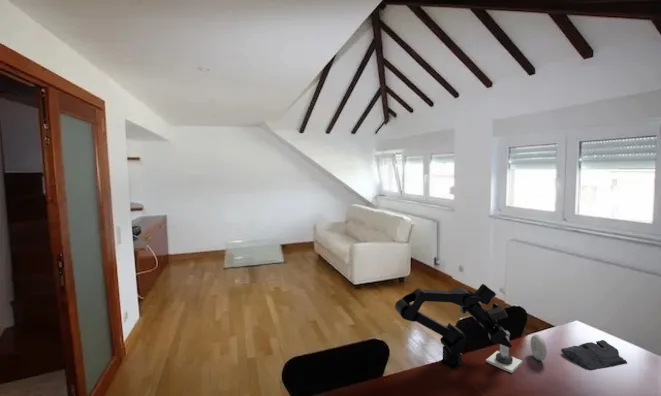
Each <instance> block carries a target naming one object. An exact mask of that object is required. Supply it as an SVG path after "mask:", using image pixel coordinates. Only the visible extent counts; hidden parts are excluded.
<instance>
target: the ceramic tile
mask: <svg viewBox="0 0 661 396" xmlns="http://www.w3.org/2000/svg"><path fill="white" fill-rule="evenodd" d="M497 353H500V350H496V351H495V352H494V353H493V354H491V355H490V356H489V357H488V358H486V359H485V362H486V363H488V364H489V365H492V366H495V367H496V368H499V369H501V370H504V371H506V372H508V373H510V374H513V372H515V371H516V370H517V369H518V368H519V367H520V366H521V365H522V364H523V360H521V359H518V358H517V357H515V356H511V355H510V356H511V357H512V358H513V362H512V364H509V365H506V364H502V363H500V362H498V361H497V360H496V354H497Z"/></svg>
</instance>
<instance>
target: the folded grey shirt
mask: <svg viewBox="0 0 661 396" xmlns="http://www.w3.org/2000/svg"><path fill="white" fill-rule="evenodd" d="M560 352H561V353H562V354H564V355H565V356H566V357H567V358H569V359H571V360H572V361H574V362H575V363H576V364H578V365H579V366H581V368H584V369H585V370H586V369H587V370H589V371H595V370H600V369H606V368H611V367H616V366H620V365H627V364H628V361H627V360H626V359H624V357H621V356H620V354H619V349H617V347H615V346H614V345H611V344H609V343H608V341H606V340H604V339H601V340H598V341H595V343H594V342H593V341H591V342H585V343H582V344H579V345H573V346H572V345H571V346H569V347H563V348H561V350H560Z"/></svg>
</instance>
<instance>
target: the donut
mask: <svg viewBox="0 0 661 396" xmlns="http://www.w3.org/2000/svg"><path fill="white" fill-rule="evenodd" d="M529 343H530V351H531V354H532V355H533V357H534V359H535V360H536V361H544V360H546V358H547V355H548V352H547V345H546V341H545V339H544V338H543V337H542V336H541V335H540V334H534V335H532V336H531V337H530V342H529Z"/></svg>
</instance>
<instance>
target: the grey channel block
mask: <svg viewBox="0 0 661 396" xmlns="http://www.w3.org/2000/svg"><path fill="white" fill-rule="evenodd" d="M505 332H506V333H507V335H506V338H507V340H508V341H509V342H510V337H511V333H510V332H509V330H505ZM499 352H500V353H497V354H496V360H497V361H498V362H500V363H502V364H506V365H509V364H512V362H513V358H512V357H513V356H512V357H511V355H510V348H509V347H506V346H504V345H501V344H499Z"/></svg>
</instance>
